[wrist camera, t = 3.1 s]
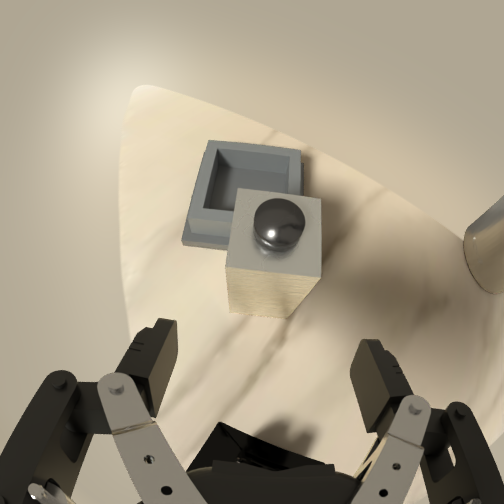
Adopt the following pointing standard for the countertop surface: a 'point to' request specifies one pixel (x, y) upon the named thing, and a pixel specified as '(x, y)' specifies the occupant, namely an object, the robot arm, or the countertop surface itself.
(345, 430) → the countertop surface
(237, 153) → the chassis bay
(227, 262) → the knobbed grey block
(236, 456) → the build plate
